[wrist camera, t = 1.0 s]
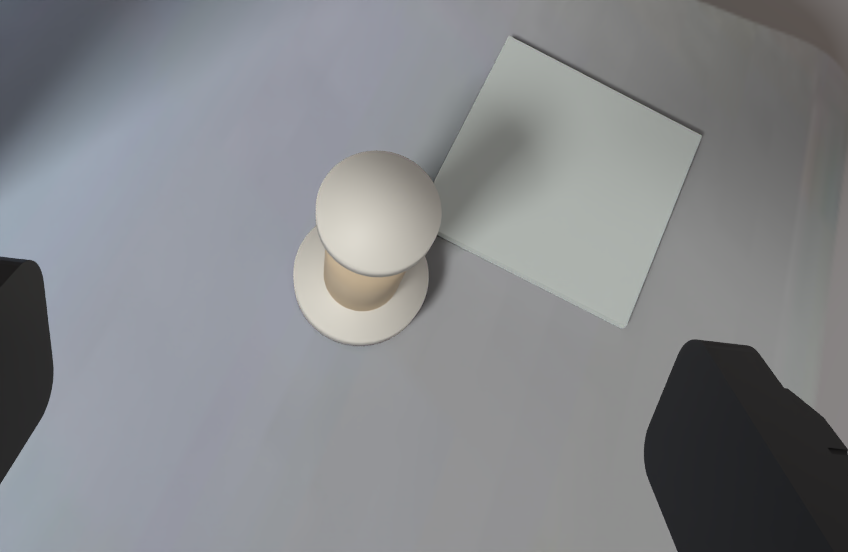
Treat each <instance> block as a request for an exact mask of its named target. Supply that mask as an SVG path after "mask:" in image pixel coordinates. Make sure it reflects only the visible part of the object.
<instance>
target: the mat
mask: <svg viewBox="0 0 848 552" xmlns="http://www.w3.org/2000/svg"><path fill="white" fill-rule="evenodd" d="M701 137H702V135H700V134H698V133H696V132H694V131H692V130H690V129H688V128H686V127H684V126H683V125H681V124H679V123H677V122H675V121H673V120H671V119H669V118H667V117H665V116H663V115H661V114H659V113H657V112H656V111H654V110H652V109H650V108H648V107H646V106H644V105H642V104H640V103H638V102H636V101H634V100H632V99H630V98H628V97H627V96H625V95H623V94H621V93H619V92H617V91H615V90H613V89H611V88H609V87H607V86H605V85H603V84H601V83H599V82H598V81H596V80H594V79H592V78H590V77H588V76H586V75H584V74H582V73H580V72H578V71H576V70H574V69H572V68H571V67H569V66H567V65H565V64H563V63H561V62H559V61H557V60H555V59H553V58H551V57H549V56H547V55H545V54H543V53H542V52H540V51H538V50H536V49H534V48H532V47H530V46H528V45H526V44H524V43H522V42H520V41H518V40H516V39H514V38H513V37H511V36H509V37H508V39H507V40H506V42H505V44H504V46H503V48H502V50H501V52H500V54H499V56H498V58H497V60H496V62H495V64H494V66H493V68H492V70H491V72H490V74H489V75H488V77H487V79H486V81H485V83H484V85H483V87H482V89H481V91H480V93H479V95H478V97H477V99H476V101H475V103H474V105H473V107H472V108H471V110H470V112H469V114H468V116H467V118H466V120H465V122H464V124H463V126H462V128H461V130H460V132H459V134H458V136H457V138H456V140H455V142H454V143H453V145H452V147H451V149H450V151H449V153H448V155H447V157H446V159H445V161H444V163H443V165H442V167H441V169H440V171H439V173H438V175H437V177H436V178H435V180H434V182H433V183H434V185H435V187H436V189H437V191H438V194H439V197H440V201H441V208H442V217H441V224H440V228H439V231H438V234H437V235H438V236H440V237H442V238H444V239H446V240H448V241H450V242H452V243H454V244H456V245H458V246H460V247H461V248H463V249H465V250H467V251H469V252H471V253H473V254H475V255H477V256H479V257H481V258H483V259H485V260H487V261H489V262H491V263H493V264H495V265H497V266H499V267H501V268H503V269H505V270H507V271H509V272H511V273H513V274H515V275H517V276H519V277H520V278H522V279H524V280H526V281H528V282H530V283H532V284H534V285H536V286H538V287H540V288H542V289H544V290H546V291H548V292H550V293H552V294H554V295H556V296H558V297H560V298H562V299H564V300H566V301H568V302H570V303H572V304H574V305H576V306H578V307H580V308H581V309H583V310H585V311H587V312H589V313H591V314H593V315H595V316H597V317H599V318H601V319H603V320H605V321H607V322H609V323H611V324H613V325H615V326H617V327H619V328H621V329H622V328H624V327H626V326H627V324H628V321H629V318H630V316H631V313H632V311H633V308H634V306H635V303H636V301H637V298H638V296H639V293H640V291H641V288H642V286H643V283H644V281H645V278H646V276H647V273H648V271H649V268H650V266H651V263H652V261H653V258H654V256H655V253H656V251H657V248H658V246H659V243H660V240H661V238H662V235H663V233H664V230H665V228H666V225H667V223H668V220H669V218H670V215H671V213H672V210H673V208H674V205H675V203H676V200H677V198H678V195H679V193H680V190H681V188H682V185H683V183H684V180H685V178H686V175H687V173H688V170H689V168H690V165H691V163H692V160H693V157H694V155H695V152H696V150H697V147H698V145H699V142H700V140H701Z"/></svg>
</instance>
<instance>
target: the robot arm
mask: <svg viewBox="0 0 848 552" xmlns="http://www.w3.org/2000/svg"><path fill="white" fill-rule="evenodd" d="M52 384H53V358H52V350H51V341H50V332H49V324H48V315H47V307H46V298H45V289H44V281H43V275H42V272H41V269H40V267H39V266H38V264H37V263H36V262H34V261H32V260H25V259H16V258H7V257H0V484H1V482H2V480H3V479H4V477H5V476H6V474H7V472H8V471H9V469H10V468H11V466H12V464H13V463H14V461H15V460H16V458H17V457H18V455H19V453H20V452H21V450H22V449H23V447H24V445H25V444H26V442H27V441H28V439H29V437H30V436H31V434H32V433H33V431H34V429H35V428H36V426H37V425H38V423H39V421H40V420H41V418H42V416H43V414H44V412H45V410H46V407H47V405H48V402H49V398H50V394H51V390H52ZM847 451H848V449H847V448H846V446H845V445H844V444H843V443H842V441H841V440H840V439H839V437H838V436H837V435H836V433H835V432H834V431H833V429H832V428H831V427H830V425H829V424H828V423H827V421H826V420H825V419H824V418H823V417H822V416H821V415H820V414H819V413H817V412H816V411H815V410H814V409H812V408H811V407H810V406H809V405H807V404H806V403H805V402H804V401H802V400H801V399H800V398H799V397H798V396H796V395H795V394H794V393H793V392H791V391H790V390H789V389H786V388H784V387H783V386H782V385H781V383H780V382H779V380H778V379H777V378H776V376H775V375H774V374H773V372H772V371H771V369H770V368H769V367H768V365H767V364H766V363H765V361H764V360H763V358H762V357H761V356H760V354H759V353H758V352H757V351H756V350H755V349H754V348H753V347H750V346H747V345H738V344H730V343H721V342H713V341H704V340H690V341H688V342H687V343H685V345H684V346H683V347H682V348H681V350H680V352H679V354H678V356H677V358H676V361H675V363H674V366H673V368H672V371H671V373H670V375H669V378H668V380H667V383H666V385H665V388H664V390H663V393H662V395H661V397H660V400H659V402H658V405H657V407H656V410H655V412H654V414H653V417H652V419H651V422H650V424H649V427H648V430H647V433H646V437H645V444H644V462H645V469H646V473H647V476H648V479H649V482H650V484H651V487H652V489H653V492H654V494H655V497H656V499H657V502H658V504H659V507H660V509H661V512H662V514H663V516H664V519H665V521H666V524H667V526H668V529H669V531H670V534H671V536H672V539H673V541H674V544H675V546H676V549H677V551H678V552H848V454H847Z"/></svg>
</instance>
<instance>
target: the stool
mask: <svg viewBox="0 0 848 552" xmlns="http://www.w3.org/2000/svg"><path fill="white" fill-rule="evenodd" d="M441 217H442V208H441V201H440V197H439V194H438V191H437V189H436V187H435V185H434V183H433V181H432V180H431V178H430V177H429V176H428V174H427V173H426V172H425V171H424V170H423V169H422V168H421V167H420V166H418V165H417V164H416V163H414V162H413V161H411V160H410V159H408V158H406V157H404V156H401V155H399V154H395V153H392V152H386V151H366V152H361V153H358V154H355V155H352V156H350V157H348V158H346V159H344V160H343V161H341V162H340V163H338V164H337V165H336V166H335V167H334V168H332V170H331V171H330V172H329V173H328V174H327V176H326V177H325V179H324V180H323V182H322V184H321V186H320V189H319V192H318V195H317V201H316V226H315V227H314V228H313V229H312V230H311V231H310V232H309V233H308V235H307V236H306V237H305V239H304V240H303V242H302V243H301V245H300V247H299V250H298V252H297V255H296V258H295V263H294V272H293V278H294V288H295V295H296V299H297V302H298V305H299V307H300V309H301V311H302V313H303V315H304V317H305V318H306V319H307V321H308V322H309V323H310V324H311V325H312V326H313V327H314V328H315V329H316V330H317V331H318V332H320V333H321V334H322V335H324V336H326V337H327V338H329V339H331V340H333V341H336V342H338V343H342V344H345V345H352V346H368V345H374V344H378V343H381V342H384V341H386V340H389V339H391V338H392V337H394V336H396V335H397V334H399V333H400V332H401V331H403V330H404V329H405V328H406V327H407V326H408V325H409V323H410V322H411V321H412V319H413V318H414V317H415V315H416V314H417V313H418V311H419V309H420V308H421V306H422V304H423V302H424V299H425V297H426V293H427V289H428V282H429V270H428V264H427V260H426V256H425V255H426V254H427V252H428V251H429V249H430V247H431V245H432V244H433V242H434V240H435V238H436V236H437V234H438V231H439V228H440V224H441Z"/></svg>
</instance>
